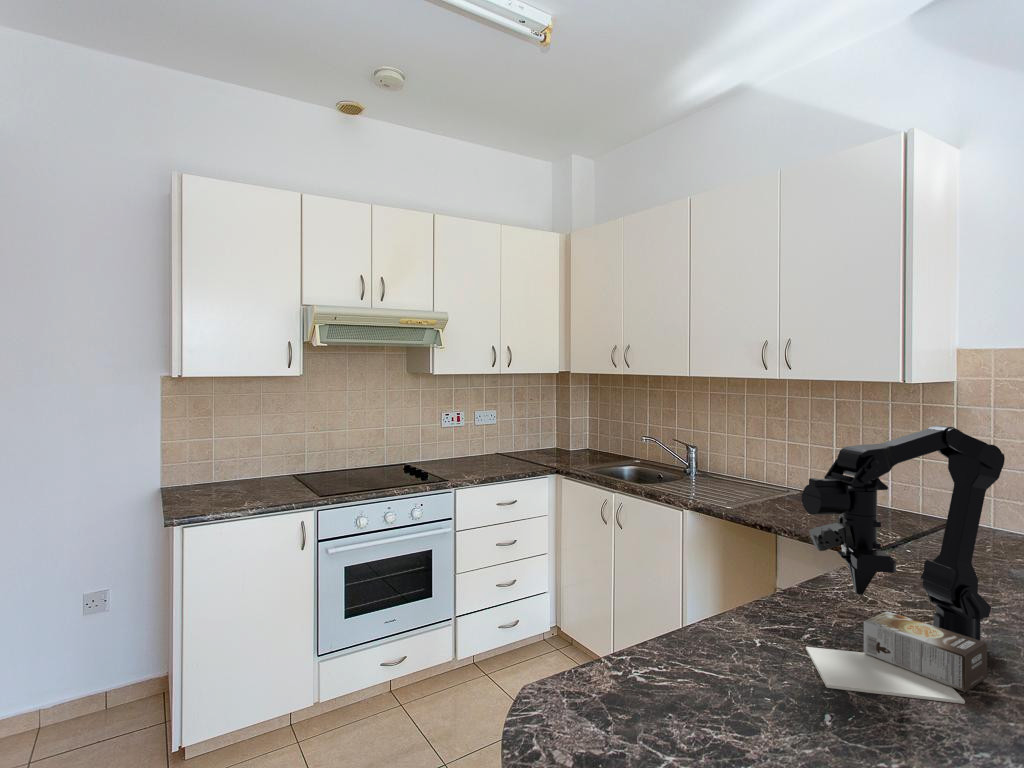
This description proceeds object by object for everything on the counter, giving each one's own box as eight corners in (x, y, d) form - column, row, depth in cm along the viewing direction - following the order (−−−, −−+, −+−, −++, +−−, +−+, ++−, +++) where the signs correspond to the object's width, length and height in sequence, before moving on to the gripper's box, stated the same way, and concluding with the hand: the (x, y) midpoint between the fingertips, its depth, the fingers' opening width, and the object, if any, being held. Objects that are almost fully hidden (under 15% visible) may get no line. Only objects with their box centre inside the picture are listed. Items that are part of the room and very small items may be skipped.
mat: (925, 661, 106) (925, 659, 106) (964, 703, 92) (964, 700, 92) (805, 649, 110) (805, 646, 110) (826, 687, 97) (826, 684, 97)
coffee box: (886, 609, 112) (988, 641, 99) (886, 642, 112) (988, 678, 99) (862, 620, 107) (966, 655, 94) (862, 654, 107) (966, 694, 94)
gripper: (801, 500, 122) (801, 574, 122) (827, 522, 103) (826, 608, 104) (860, 503, 119) (860, 578, 119) (897, 526, 101) (896, 614, 101)
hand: (859, 593), depth 111 cm, fingers closed
